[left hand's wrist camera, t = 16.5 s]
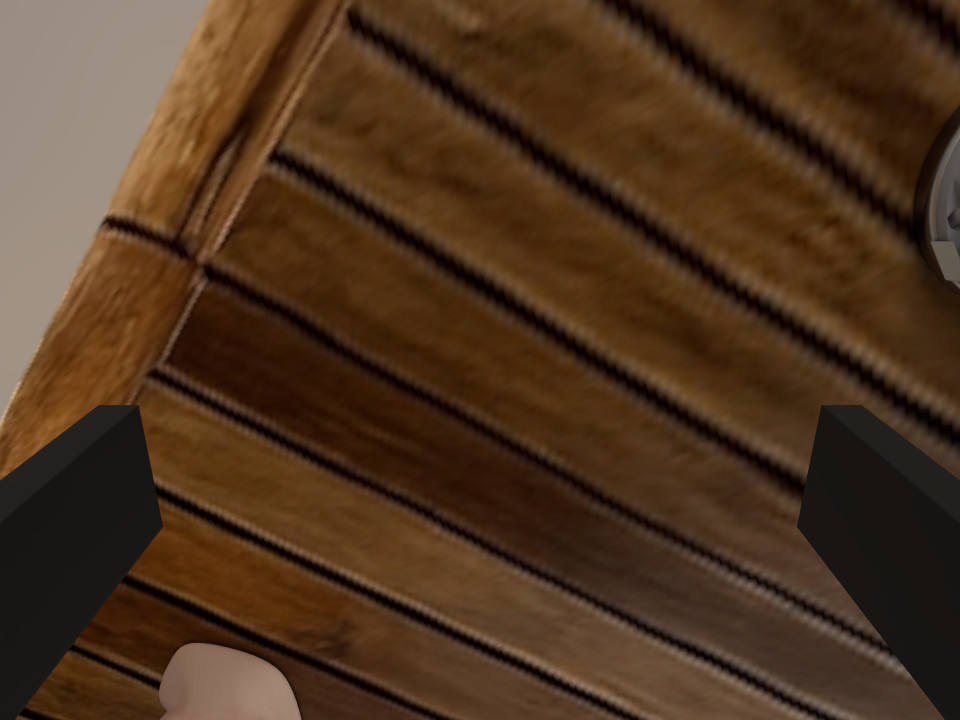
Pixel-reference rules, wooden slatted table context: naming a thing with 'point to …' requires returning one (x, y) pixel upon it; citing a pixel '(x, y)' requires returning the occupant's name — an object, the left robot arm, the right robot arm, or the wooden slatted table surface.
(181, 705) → the anatomical model
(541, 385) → the wooden slatted table surface
